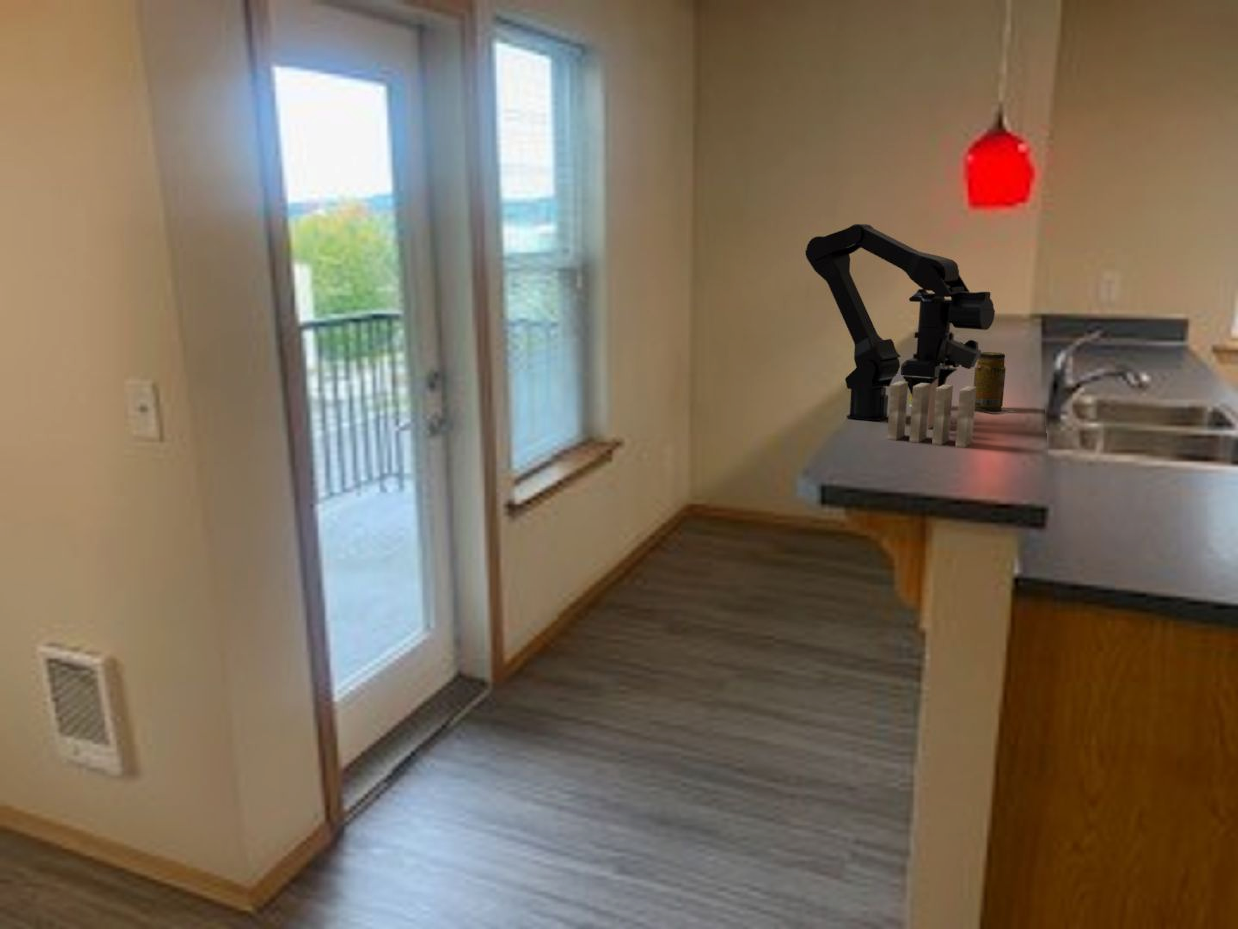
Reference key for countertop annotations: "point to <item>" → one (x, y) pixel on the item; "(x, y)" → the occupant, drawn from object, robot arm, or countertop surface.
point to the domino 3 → (932, 403)
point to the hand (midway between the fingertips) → (928, 408)
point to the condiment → (990, 383)
